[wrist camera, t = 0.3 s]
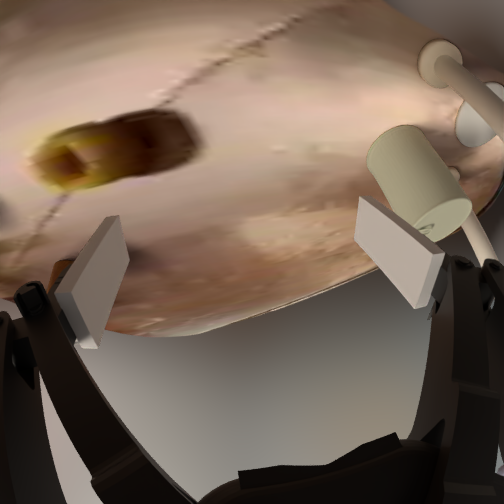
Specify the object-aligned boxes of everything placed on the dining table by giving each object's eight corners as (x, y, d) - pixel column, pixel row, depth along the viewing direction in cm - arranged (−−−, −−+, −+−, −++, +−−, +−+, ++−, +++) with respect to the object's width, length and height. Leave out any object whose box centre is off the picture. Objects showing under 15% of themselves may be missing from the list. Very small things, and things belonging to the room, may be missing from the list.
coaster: (477, 71, 20) (480, 73, 19) (516, 94, 21) (519, 97, 21) (442, 139, 30) (444, 142, 30) (485, 148, 32) (487, 151, 31)
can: (366, 132, 28) (419, 215, 22) (429, 120, 27) (485, 194, 21) (364, 182, 36) (401, 258, 30) (418, 168, 35) (459, 237, 29)
